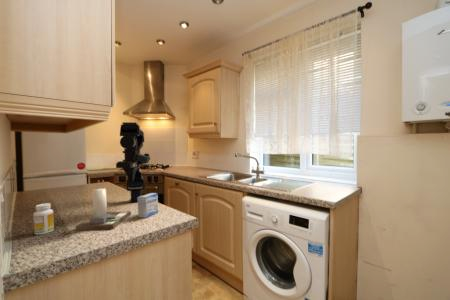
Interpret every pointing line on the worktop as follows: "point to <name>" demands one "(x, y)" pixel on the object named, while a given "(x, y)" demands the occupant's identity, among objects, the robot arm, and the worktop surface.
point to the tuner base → (107, 225)
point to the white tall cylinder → (100, 207)
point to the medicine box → (147, 205)
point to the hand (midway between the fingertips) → (131, 181)
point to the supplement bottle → (43, 219)
